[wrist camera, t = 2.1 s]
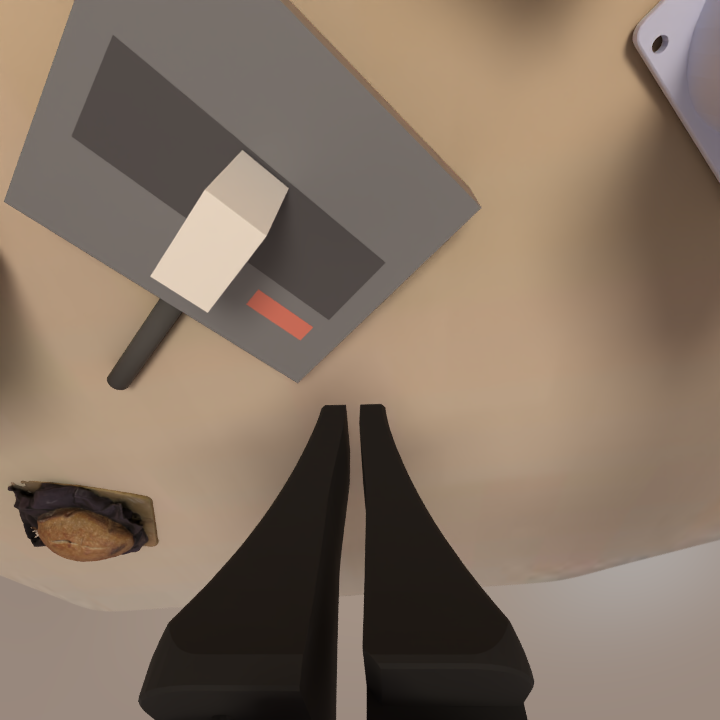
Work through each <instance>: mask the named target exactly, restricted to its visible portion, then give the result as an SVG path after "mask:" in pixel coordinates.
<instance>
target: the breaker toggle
mask: <svg viewBox="0 0 720 720" xmlns="http://www.w3.org/2000/svg"><path fill="white" fill-rule="evenodd" d="M288 189H289V188H288V187H286V186H285V185H284V184H283V183H282V182H280V181H279V180H278V179H277V178H276V177H274V176H273V175H272V174H271V173H270V172H268V171H267V170H266V169H265V168H264V167H262V166H261V165H260V164H259V163H257V162H256V161H255V160H254V159H253V158H251V157H250V156H249V155H248V154H247V153H245V152H244V151H243V150H242V151H241V152H240V153H239V154H238V155H237V156H236V157H235V158H234V159H233V161H232V162H231V163H230V164H229V165H228V166H227V167H226V168H225V169H224V170H223V171H222V172H221V173H220V174H219V175H218V176H217V177H216V178H215V179H214V180H213V182H212V183H211V184H210V185H209V186H208V187H207V188H206V189H205V190H204V192H203V193H202V195H201V197H200V198H199V200H198V201H197V203H196V205H195V206H194V208H193V209H192V211H191V212H190V214H189V216H188V217H187V219H186V220H185V222H184V224H183V225H182V227H181V228H180V230H179V231H178V233H177V235H176V236H175V238H174V239H173V241H172V243H171V244H170V246H169V247H168V249H167V251H166V252H165V254H164V255H163V257H162V258H161V260H160V262H159V263H158V265H157V266H156V268H155V270H154V271H153V273H152V274H151V276H150V277H152V278H153V279H155V280H157V281H158V282H160V283H161V284H163V285H165V286H166V287H168V288H169V289H171V290H172V291H174V292H176V293H177V294H179V295H180V296H182V297H183V298H185V299H187V300H188V301H190V302H191V303H193V304H195V305H196V306H198V307H199V308H201V309H202V310H204V311H206V312H207V313H208V312H209V310H210V309H211V308H212V306H213V305H214V304H215V303H216V301H217V300H218V299H219V297H220V296H221V295H222V293H223V292H224V291H225V290H226V288H227V287H228V286H229V284H230V283H231V282H232V280H233V279H234V278H235V277H236V275H237V274H238V273H239V271H240V270H241V269H242V267H243V266H244V265H245V263H246V262H247V261H248V260H249V258H250V257H251V256H252V254H253V253H254V252H255V250H256V249H257V248H258V247H259V245H260V244H261V243H262V241H263V240H264V239H265V237H266V236H267V234H268V232H269V230H270V228H271V225H272V223H273V221H274V219H275V217H276V215H277V213H278V210H279V208H280V206H281V204H282V202H283V200H284V197H285V195H286V193H287V191H288Z"/></svg>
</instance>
